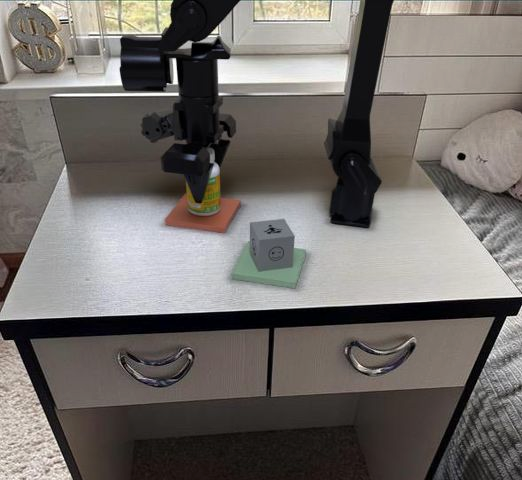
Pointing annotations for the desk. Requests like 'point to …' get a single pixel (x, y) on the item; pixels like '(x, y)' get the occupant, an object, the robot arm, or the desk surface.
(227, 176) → the desk surface
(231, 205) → the terracotta mat
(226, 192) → the desk surface
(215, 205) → the supplement bottle
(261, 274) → the green mat
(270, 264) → the dice cube
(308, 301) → the desk surface
